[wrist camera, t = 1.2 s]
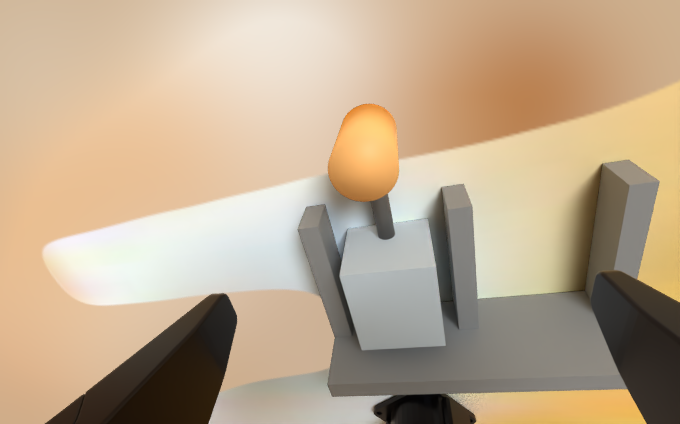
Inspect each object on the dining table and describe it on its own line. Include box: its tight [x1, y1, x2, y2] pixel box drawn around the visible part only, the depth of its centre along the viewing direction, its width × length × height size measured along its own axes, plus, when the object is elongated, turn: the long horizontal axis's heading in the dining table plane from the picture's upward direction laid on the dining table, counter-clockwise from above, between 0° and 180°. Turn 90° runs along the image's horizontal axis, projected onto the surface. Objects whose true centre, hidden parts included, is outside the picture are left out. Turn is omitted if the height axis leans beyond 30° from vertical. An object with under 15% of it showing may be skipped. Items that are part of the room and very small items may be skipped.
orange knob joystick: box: [328, 104, 446, 350], centre depth 20 cm, size 14×5×5 cm, turn 13°
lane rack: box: [298, 160, 660, 397], centre depth 20 cm, size 10×18×6 cm, turn 103°
